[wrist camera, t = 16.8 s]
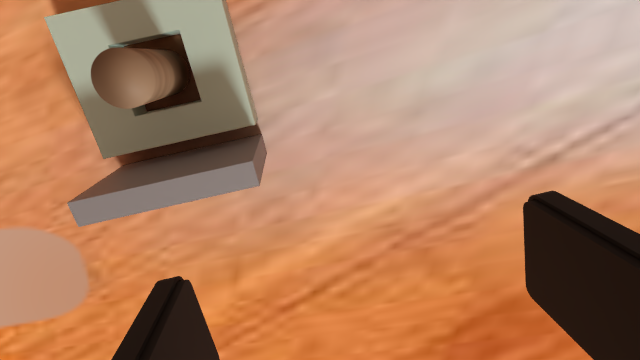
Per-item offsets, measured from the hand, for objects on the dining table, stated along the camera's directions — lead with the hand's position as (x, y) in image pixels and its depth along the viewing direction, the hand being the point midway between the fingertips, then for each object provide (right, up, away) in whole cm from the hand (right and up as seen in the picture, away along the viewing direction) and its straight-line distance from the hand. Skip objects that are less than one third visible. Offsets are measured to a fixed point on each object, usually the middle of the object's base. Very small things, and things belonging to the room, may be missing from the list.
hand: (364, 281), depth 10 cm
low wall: (-14, +5, +27) cm, 31 cm away
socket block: (-15, +13, +24) cm, 32 cm away
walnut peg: (-15, +13, +24) cm, 31 cm away
